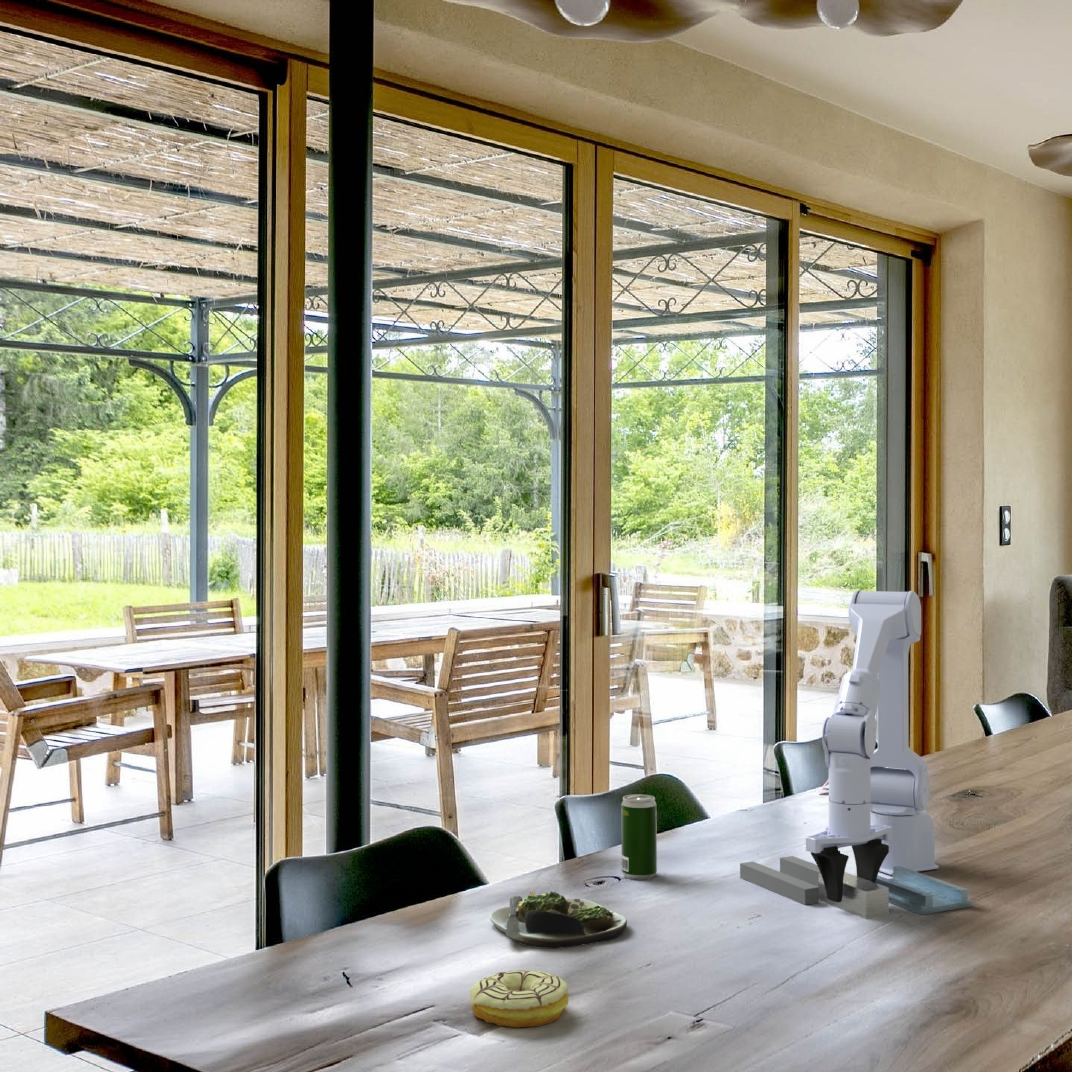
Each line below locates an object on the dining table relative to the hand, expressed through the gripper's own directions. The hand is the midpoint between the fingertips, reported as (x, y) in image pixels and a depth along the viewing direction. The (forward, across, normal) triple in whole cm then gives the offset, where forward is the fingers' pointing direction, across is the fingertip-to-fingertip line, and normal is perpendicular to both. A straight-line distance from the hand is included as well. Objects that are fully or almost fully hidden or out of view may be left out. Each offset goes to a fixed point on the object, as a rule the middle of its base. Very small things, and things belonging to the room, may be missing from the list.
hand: (850, 897), depth 179 cm
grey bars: (+1, -1, -12) cm, 12 cm away
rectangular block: (+2, 0, 0) cm, 2 cm away
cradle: (+1, -11, +1) cm, 11 cm away
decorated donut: (+2, +59, +10) cm, 60 cm away
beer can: (+2, +16, -29) cm, 33 cm away
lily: (+2, -55, -61) cm, 82 cm away
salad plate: (+2, +40, -13) cm, 42 cm away
